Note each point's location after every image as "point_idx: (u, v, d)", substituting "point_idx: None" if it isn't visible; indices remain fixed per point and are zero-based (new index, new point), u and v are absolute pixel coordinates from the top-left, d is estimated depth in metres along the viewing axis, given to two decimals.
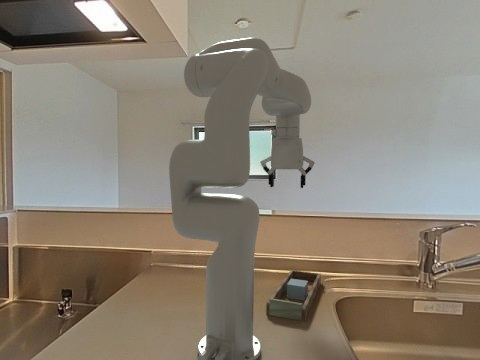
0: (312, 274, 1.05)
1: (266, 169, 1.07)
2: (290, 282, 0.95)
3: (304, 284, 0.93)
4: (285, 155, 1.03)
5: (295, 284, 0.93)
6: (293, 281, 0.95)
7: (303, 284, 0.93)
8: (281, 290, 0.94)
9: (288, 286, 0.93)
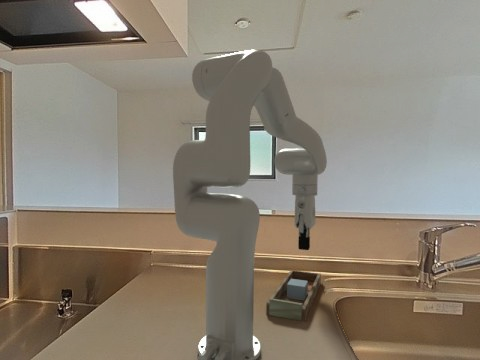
0: (312, 274, 1.05)
1: (305, 232, 0.99)
2: (290, 282, 0.95)
3: (304, 284, 0.93)
4: (313, 213, 1.00)
5: (295, 284, 0.93)
6: (293, 281, 0.95)
7: (303, 284, 0.93)
8: (281, 290, 0.94)
9: (288, 286, 0.93)
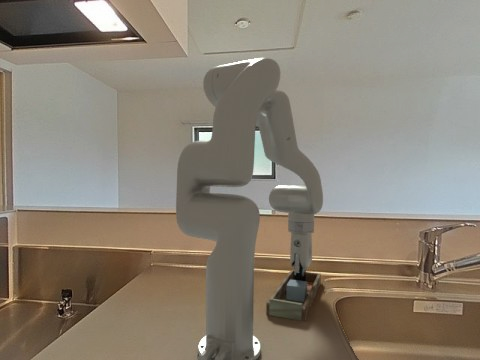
0: (312, 274, 1.05)
1: None
2: (289, 283, 0.93)
3: (304, 285, 0.92)
4: (310, 250, 0.96)
5: (295, 285, 0.92)
6: (293, 282, 0.94)
7: (302, 285, 0.92)
8: (281, 290, 0.94)
9: (288, 287, 0.92)
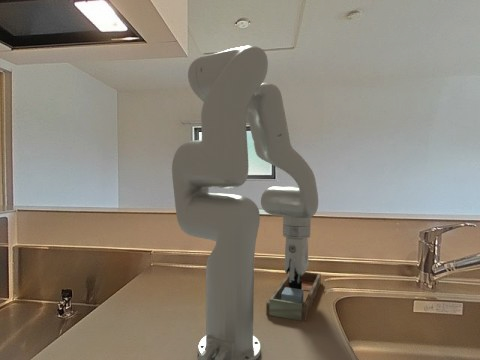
0: (312, 274, 1.05)
1: (297, 278, 0.89)
2: (284, 291, 0.87)
3: (300, 293, 0.86)
4: (306, 256, 0.90)
5: (290, 293, 0.86)
6: (288, 290, 0.88)
7: (298, 294, 0.86)
8: (281, 290, 0.94)
9: (282, 296, 0.86)
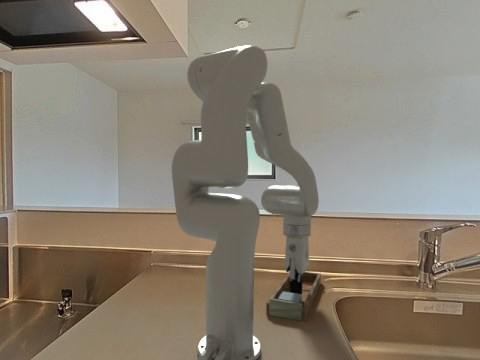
0: (312, 274, 1.05)
1: None
2: (282, 296, 0.85)
3: (297, 298, 0.83)
4: (306, 255, 0.90)
5: (287, 298, 0.84)
6: (285, 295, 0.85)
7: (296, 299, 0.83)
8: (281, 290, 0.94)
9: None
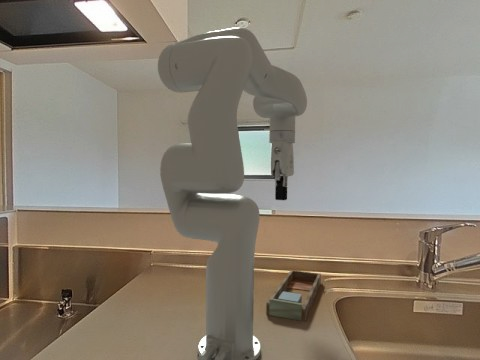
0: (312, 274, 1.05)
1: (282, 181, 0.96)
2: (282, 296, 0.85)
3: (297, 298, 0.83)
4: (291, 161, 0.97)
5: (287, 298, 0.84)
6: (285, 295, 0.85)
7: (296, 299, 0.83)
8: (281, 290, 0.94)
9: None
